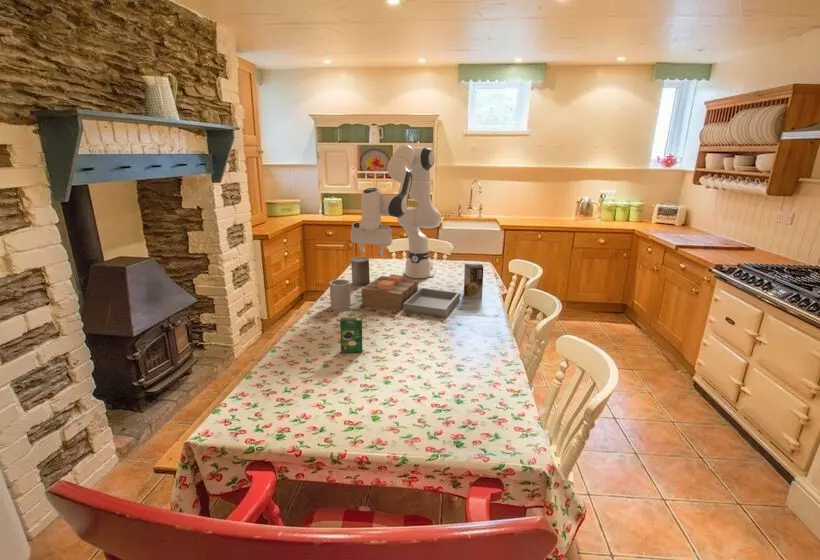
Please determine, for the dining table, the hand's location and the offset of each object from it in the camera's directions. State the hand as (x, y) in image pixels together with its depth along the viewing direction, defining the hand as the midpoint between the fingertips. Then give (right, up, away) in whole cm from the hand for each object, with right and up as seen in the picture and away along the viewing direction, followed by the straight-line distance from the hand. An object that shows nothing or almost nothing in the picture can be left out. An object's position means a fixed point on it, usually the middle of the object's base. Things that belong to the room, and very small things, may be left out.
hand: (371, 253), depth 199 cm
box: (+29, -25, +1) cm, 38 cm away
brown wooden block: (+9, -22, +8) cm, 25 cm away
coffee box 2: (+50, -21, +14) cm, 55 cm away
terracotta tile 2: (+11, -13, +10) cm, 20 cm away
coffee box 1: (-3, -39, -43) cm, 58 cm away
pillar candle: (-9, -14, +34) cm, 38 cm away
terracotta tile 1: (+7, -16, +2) cm, 17 cm away
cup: (-14, -25, 0) cm, 29 cm away
